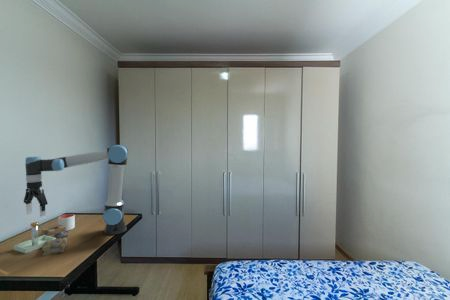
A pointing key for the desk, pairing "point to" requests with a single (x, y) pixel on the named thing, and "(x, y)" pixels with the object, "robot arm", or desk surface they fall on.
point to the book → (54, 246)
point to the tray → (27, 245)
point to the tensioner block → (55, 231)
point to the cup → (67, 221)
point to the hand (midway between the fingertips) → (36, 214)
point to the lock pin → (34, 233)
